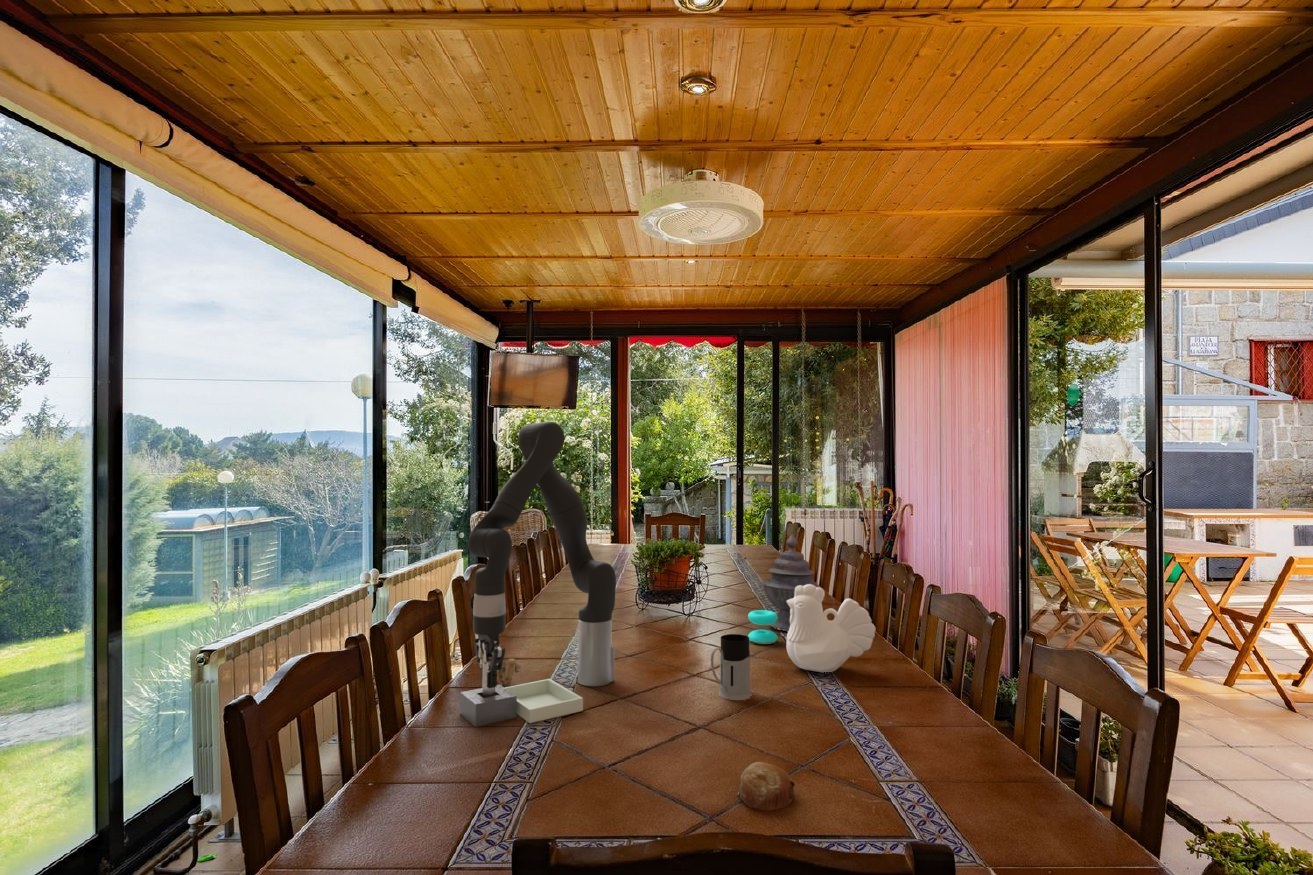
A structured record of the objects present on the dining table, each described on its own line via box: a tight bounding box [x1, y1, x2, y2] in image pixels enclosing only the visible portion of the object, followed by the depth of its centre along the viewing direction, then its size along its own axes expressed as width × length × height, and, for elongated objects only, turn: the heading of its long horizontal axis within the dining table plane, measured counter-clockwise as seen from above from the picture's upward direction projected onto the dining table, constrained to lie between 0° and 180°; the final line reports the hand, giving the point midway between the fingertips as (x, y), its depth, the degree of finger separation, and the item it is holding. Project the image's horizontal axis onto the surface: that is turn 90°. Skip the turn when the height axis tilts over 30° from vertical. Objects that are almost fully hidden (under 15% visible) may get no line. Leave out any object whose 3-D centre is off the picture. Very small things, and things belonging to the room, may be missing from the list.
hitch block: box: [459, 684, 518, 728], centre depth 165 cm, size 10×10×6 cm
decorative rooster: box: [785, 584, 876, 674], centre depth 204 cm, size 25×16×25 cm, turn 65°
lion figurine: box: [497, 658, 522, 687], centre depth 188 cm, size 15×5×9 cm, turn 36°
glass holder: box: [710, 633, 753, 701], centre depth 181 cm, size 9×14×15 cm, turn 137°
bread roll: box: [737, 761, 796, 812], centre depth 128 cm, size 10×10×8 cm
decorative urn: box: [762, 533, 820, 630], centre depth 256 cm, size 20×20×35 cm
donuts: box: [747, 609, 779, 643], centre depth 236 cm, size 10×10×10 cm
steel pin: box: [481, 653, 495, 698], centre depth 165 cm, size 3×3×14 cm
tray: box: [504, 678, 584, 724], centre depth 172 cm, size 14×18×4 cm
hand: (488, 684), depth 165 cm, fingers closed on steel pin, 3 cm apart
